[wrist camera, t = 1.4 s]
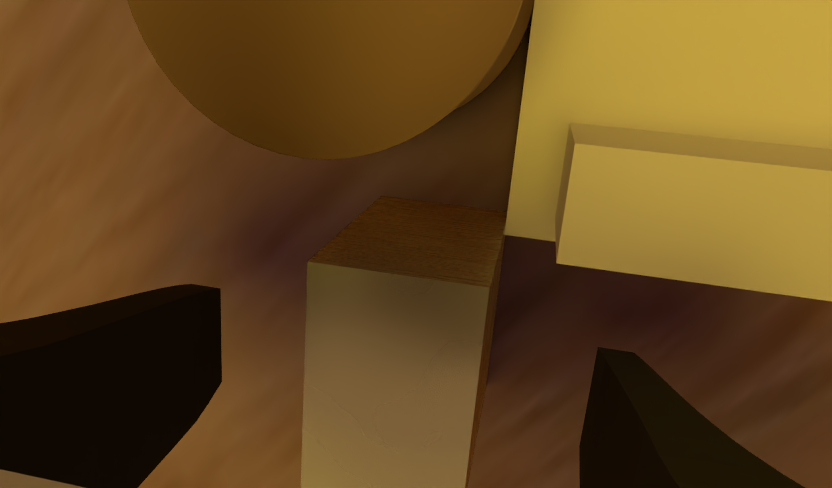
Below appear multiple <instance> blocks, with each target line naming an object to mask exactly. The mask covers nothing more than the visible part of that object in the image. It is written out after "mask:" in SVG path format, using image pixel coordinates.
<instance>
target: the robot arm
mask: <svg viewBox="0 0 832 488" xmlns="http://www.w3.org/2000/svg"><path fill="white" fill-rule="evenodd" d="M221 382H222V364H221V299H220V288H213V287H207V286H200V285H194V284H187V285H177V286H171V287H165V288H161V289H156V290H151V291H147V292H143V293H139V294H134V295H130V296H126V297H122V298H118V299H114V300H110V301H106V302H102V303H98V304H94V305H89V306H85V307H80V308H76V309H71V310H66V311H62V312H57V313H53V314H48V315H44V316H39V317H34V318H29V319H23V320H18V321H12V322H6V323H0V488H138V487H139V485H140V484H141V483H142V482H143V481H144V480H145V479H146V478H147V477H148V475H149V474H150V473H151V472H152V471H153V470H154V469H155V468H156V467H157V465H158V464H159V463H160V462H161V461H162V460H163V459H164V458H165V456H166V455H167V454H168V453H169V452H170V451H171V450H172V449H173V447H174V446H175V445H176V444H177V443H178V442H179V441H180V439H181V438H182V437H183V436H184V435H185V434H186V433H187V431H188V430H189V429H190V428H191V427H192V426H193V424H194V423H195V422H196V421H197V419H198V418H199V416H200V415H201V413H202V412H203V411H204V409H205V408H206V406H207V405H208V403H209V401H210V400H211V398H212V397H213V395H214V393H215V392H216V390H217V389H218V387H219V385H220V384H221ZM580 488H804V487H803V486H801V485H800V484H798V483H796V482H795V481H793V480H791V479H790V478H788V477H786V476H785V475H783V474H782V473H780V472H779V471H777V470H776V469H774V468H773V467H771V466H770V465H768V464H767V463H765V462H764V461H762V460H761V459H759V458H758V457H756V456H755V455H753V454H752V453H750V452H749V451H747V450H746V449H745V448H743V447H742V446H741V445H739V444H738V443H736V442H735V441H734V440H732V439H731V438H730V437H729V436H727V435H726V434H725V433H724V432H722V431H721V430H720V429H719V428H717V427H716V426H715V425H714V424H712V423H711V422H710V421H709V420H707V419H706V418H705V417H704V416H703V415H702V414H700V413H699V412H698V411H697V410H696V409H695V408H693V407H692V406H691V405H690V404H689V403H688V402H687V401H686V400H685V399H683V398H682V397H681V396H680V395H679V394H678V393H677V392H676V391H675V390H674V389H673V388H672V387H671V386H669V385H668V384H667V383H666V382H665V381H664V380H663V379H662V378H661V377H660V376H659V375H658V374H657V373H656V372H655V371H654V370H653V369H652V368H651V367H650V366H648V365H647V364H646V363H645V362H644V361H643V360H642V359H641V358H640V357H639V356H637V355H636V354H635V353H632V352H625V351H619V350H613V349H606V348H600V347H598V350H597V355H596V361H595V366H594V371H593V377H592V382H591V388H590V393H589V398H588V404H587V409H586V414H585V420H584V425H583V431H582V436H581V441H580Z"/></svg>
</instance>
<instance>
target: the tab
mask: <svg viewBox="0 0 832 488" xmlns="http://www.w3.org/2000/svg"><path fill="white" fill-rule="evenodd" d="M506 218H507V212H506V211H498V210H490V209H482V208H474V207H466V206H458V205H450V204H442V203H434V202H426V201H418V200H410V199H402V198H394V197H386V196H381V197H380V198H379V199H377V200H376V201H375V202H374V203H373V204H372V205H371V206H370V207H368V208H367V209H366V210H365V211H364V212H363V213H362V214H361V215H359V216H358V217H357V218H356V219H355V220H354V221H353V222H351V223H350V224H349V225H348V226H347V227H346V228H345V229H344V230H342V231H341V232H340V233H339V234H338V235H337V236H336V237H335V238H333V239H332V240H331V241H330V242H329V243H328V244H327V245H325V246H324V247H323V248H322V249H321V250H320V251H319V252H318V253H316V254H315V255H314V256H313V257H312V258H311V259H310V260H309V261H307V292H306V327H305V361H304V396H303V430H302V465H301V488H467V486H468V481H469V475H470V470H471V465H472V459H473V454H474V449H475V443H476V438H477V433H478V428H479V422H480V417H481V412H482V406H483V401H484V396H485V390H486V385H487V377H488V369H489V361H490V353H491V345H492V338H493V330H494V322H495V314H496V306H497V298H498V290H499V283H500V275H501V267H502V259H503V251H504V243H505V235H504V234H505V226H506Z"/></svg>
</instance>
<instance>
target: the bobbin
mask: <svg viewBox="0 0 832 488" xmlns="http://www.w3.org/2000/svg"><path fill="white" fill-rule="evenodd" d="M128 3H129V6H130V9H131V12H132V15H133V18H134V20H135V22H136V24H137V26H138V29H139V31H140V33H141V35H142V37H143V39H144V41H145V43H146V45H147V46H148V48H149V50H150V51H151V53H152V55H153V57H154V58H155V60H156V62H157V63H158V65H159V66H160V67H161V69H162V70H163V71H164V73H165V74H166V75H167V77H168V78H169V79H170V81H171V82H172V83H173V85H174V86H175V87H176V88H177V89H178V90H179V91H180V92H181V93H182V94H183V95H184V96H185V97H186V98H187V100H188V101H189V102H190V103H191V104H192V105H193V106H195V107H196V108H197V109H198V110H199V111H201V112H202V113H203V114H204V115H205V116H207V117H208V118H209V119H210V120H211V121H213V122H214V123H216V124H217V125H219V126H220V127H222V128H224V129H225V130H227V131H228V132H230V133H231V134H233V135H235V136H237V137H239V138H241V139H243V140H245V141H247V142H249V143H251V144H253V145H256V146H258V147H261V148H264V149H267V150H270V151H273V152H276V153H279V154H284V155H289V156H295V157H300V158H307V159H327V160H331V159H342V158H354V157H358V156H363V155H367V154H372V153H376V152H380V151H382V150H385V149H388V148H390V147H393V146H396V145H398V144H401V143H403V142H405V141H407V140H409V139H411V138H412V137H414V136H416V135H418V134H420V133H422V132H424V131H425V130H427V129H428V128H430V127H431V126H433V125H434V124H436V123H437V122H438V121H440V120H441V119H443V118H444V117H445V116H447V115H448V114H449V113H451V112H452V111H454V110H455V109H457V108H459V107H461V106H463V105H465V104H466V103H468V102H469V101H470V100H472V99H473V98H474V97H476V96H477V95H479V94H480V93H481V92H483V91H484V90H485V89H486V88H487V87H488V86H489V85H490V84H491V83H492V82H493V81H494V80H495V79H496V78H497V77H498V76H499V75H500V74H501V72H502V71H503V70H504V69H505V67H506V66H507V65H508V64H509V62H510V61H511V59H512V57H513V56H514V54H515V53H516V51H517V49H518V48H519V46H520V44H521V42H522V40H523V37H524V35H525V33H526V31H527V29H528V26H529V22H530V19H531V16H532V13H533V8H534V0H128Z"/></svg>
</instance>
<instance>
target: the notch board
mask: <svg viewBox="0 0 832 488" xmlns="http://www.w3.org/2000/svg"><path fill="white" fill-rule="evenodd" d="M504 235H510V236H517V237H525V238H532V239H540V240H547V241H555V242H556V263H558V264H565V265H572V266H579V267H587V268H594V269H601V270H608V271H616V272H623V273H630V274H637V275H644V276H652V277H659V278H666V279H673V280H681V281H688V282H695V283H702V284H710V285H717V286H724V287H731V288H738V289H746V290H753V291H760V292H767V293H775V294H782V295H789V296H796V297H804V298H811V299H818V300H825V301H832V0H534V8H533V16H532V24H531V31H530V39H529V47H528V55H527V63H526V70H525V78H524V86H523V94H522V102H521V109H520V117H519V125H518V133H517V141H516V148H515V156H514V164H513V172H512V179H511V187H510V195H509V203H508V211H507V218H506V226H505V234H504Z"/></svg>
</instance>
